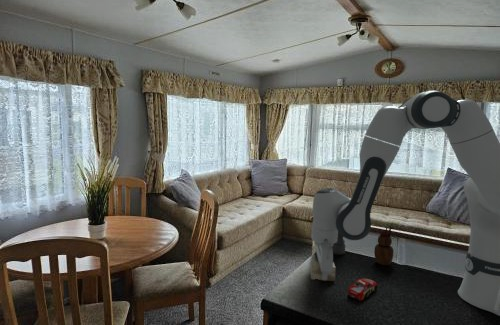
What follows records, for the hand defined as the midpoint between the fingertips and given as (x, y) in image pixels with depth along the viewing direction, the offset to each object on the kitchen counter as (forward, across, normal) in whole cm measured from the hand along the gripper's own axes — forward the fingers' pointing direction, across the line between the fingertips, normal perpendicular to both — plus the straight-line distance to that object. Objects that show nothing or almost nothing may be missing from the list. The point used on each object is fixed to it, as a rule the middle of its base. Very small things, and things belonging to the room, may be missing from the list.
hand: (322, 272), depth 107 cm
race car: (+2, -8, -12) cm, 14 cm away
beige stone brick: (+2, 0, 0) cm, 2 cm away
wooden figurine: (+2, +15, -25) cm, 29 cm away
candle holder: (+2, +24, -9) cm, 26 cm away
